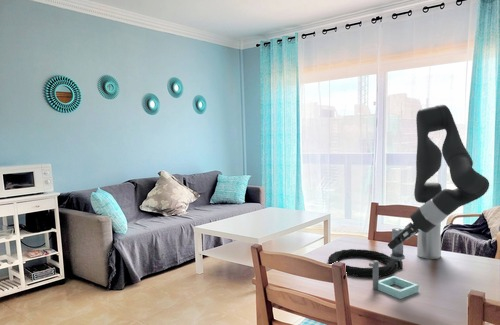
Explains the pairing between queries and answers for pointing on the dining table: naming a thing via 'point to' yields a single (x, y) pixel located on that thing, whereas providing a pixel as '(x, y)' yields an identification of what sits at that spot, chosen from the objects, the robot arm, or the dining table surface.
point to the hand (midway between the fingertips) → (391, 245)
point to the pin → (398, 250)
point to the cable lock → (367, 272)
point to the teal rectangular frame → (385, 284)
